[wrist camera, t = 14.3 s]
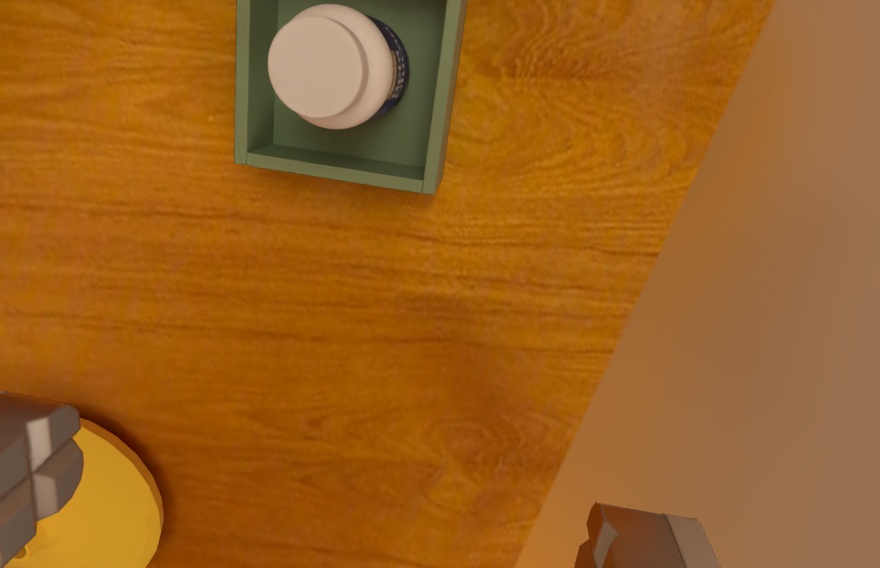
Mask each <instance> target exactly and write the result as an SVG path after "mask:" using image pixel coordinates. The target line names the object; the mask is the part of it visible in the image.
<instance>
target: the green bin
mask: <svg viewBox="0 0 880 568" xmlns="http://www.w3.org/2000/svg"><path fill="white" fill-rule="evenodd" d="M467 1H468V0H237V22H236V81H235V139H234V163H235V164H241V165H247V166H253V167H259V168H265V169H271V170H278V171H284V172H290V173H297V174H303V175H309V176H315V177H322V178H328V179H334V180H340V181H347V182H353V183H359V184H366V185H372V186H378V187H384V188H391V189H397V190H403V191H409V192H416V193H421V192H422V193H423V194H429V195H434V194H435V192H436V190H437V188H438V186H439V184H440V182H441V180H442V176H443V169H444V162H445V155H446V148H447V141H448V134H449V127H450V120H451V113H452V106H453V99H454V92H455V85H456V78H457V71H458V64H459V57H460V50H461V43H462V36H463V29H464V22H465V15H466V8H467ZM322 4H337V5H343V6H346V7H350V8H353V9H355V10H358V11H360V12H362V13H364V14H366V15H368V16H371V17H373V18H375V19H377V20H380V21H382V22H383V23H385V24H386V25H388V26H389V27H390V28H391V29H393V30H394V31H395V32H396V34H397V35H398V36H399V37H400V39H401V40H402V42H403V44H404V46H405V48H406V50H407V53H408V56H409V61H410V80H409V84H408V88H407V90H406V92H405V94H404V96H403V98H402V99H401V101H400V102H399V103H398V105H397V106H396V107H395V108H393V109H392V110H391V111H390V112H388V113H387V114H385V115H383V116H381V117H379V118H376V119H373V120H371V121H368V122H365V123H363V124H360V125H358V126H355V127H351V128H346V129H328V128H323V127H319V126H317V125H314V124H312V123H310V122H308V121H306V120H305V119H303V118H302V117H301V116H299V115H298V114H297V113H296V112H294V111H293V110H291V109H290V108H289V107H287V106H286V105H285V104H284V103H283V102H282V101H281V100H280V98H279V97H278V95H277V94H276V92H275V90H274V88H273V86H272V84H271V81H270V77H269V72H268V54H269V50H270V47H271V44H272V41H273V39H274V38H275V36H276V34H277V33H278V32H279V31H280V29H281V28H282V27H283V26H284V25H286V24H287V23H288V22H290V21H291V20H292V19H293V18H294V17H295V16H296V15H298V14H299V13H300V12H302V11H304V10H306V9H308V8H310V7H313V6H317V5H322Z"/></svg>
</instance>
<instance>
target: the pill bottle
mask: <svg viewBox="0 0 880 568" xmlns="http://www.w3.org/2000/svg"><path fill="white" fill-rule="evenodd" d="M268 72H269V77H270V81H271V84H272V86H273V88H274V90H275V92H276V94H277V95H278V97H279V98H280V100H281V101H282V102H283V103H284V104H285V105H286V106H287V107H289V108H290V109H291V110H293V111H294V112H296V113H297V114H298V115H299V116H301V117H302V118H303V119H305V120H306V121H308V122H310V123H312V124H314V125H317V126H319V127H323V128H328V129H346V128H351V127H355V126H358V125H360V124H363V123H365V122H368V121H371V120H373V119H376V118H379V117H381V116H383V115H385V114H387V113H388V112H390V111H391V110H392V109H393V108H395V107H396V106H397V105H398V103H399V102H400V101H401V99H402V98H403V96H404V94H405V92H406V90H407V88H408V84H409V80H410V61H409V56H408V53H407V50H406V48H405V46H404V44H403V42H402V40H401V39H400V37H399V36H398V35H397V34H396V32H395V31H394V30H393V29H391V28H390V27H389V26H388V25H386V24H385V23H383V22H382V21H380V20H377V19H375V18H373V17H371V16H368V15H366V14H364V13H362V12H360V11H358V10H355V9H353V8H350V7H346V6H343V5H337V4H322V5H317V6H313V7H310V8H308V9H306V10H304V11H302V12H300V13H299V14H298V15H296V16H295V17H294V18H293V19H292V20H291V21H290V22H288V23H287V24H286V25H284V26H283V27H282V28H281V29H280V31H279V32H278V33H277V34H276V36H275V38H274V39H273V41H272V44H271V47H270V50H269V54H268Z"/></svg>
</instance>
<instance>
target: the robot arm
mask: <svg viewBox="0 0 880 568" xmlns="http://www.w3.org/2000/svg"><path fill="white" fill-rule="evenodd" d="M80 429H81V424H80V416H79V410H77V409H76V408H75V407H73V406H72V405H70V404H65V403H61V402H56V401H51V400H46V399H41V398H37V397H32V396H27V395H22V394H18V393H13V392H12V393H9V392H6V391H1V390H0V568H3V567H4V566H5V565H6V564H7V563H8V562H9V561H10V560H11V559H12V558H13V557H14V556H15V555H16V554H17V553H18V552H19V551H20V550H21V549H22V548H23V547H24V546H25V545H26V544H27V543H28V542H29V541H30V540H31V539H32V538H33V537H34V536H35V535H36V533H37V522H38V521H40V520H42V519H44V518H47V517H49V516H51V515H54V514H56V513H58V512H59V511H60V510H61V509H62V508H63V507H64V506H65V505H66V504H67V503H68V502H69V501H70V500H71V498H72V497H73V495H74V493H75V491H76V489H77V487H78V485H79V483H80V481H81V478H82V473H83V468H84V458H83V451H82V450H81V449H80V447H79V446H78V445H77V443H76V442H75V441H74V439H73V437H74V436H75V435H76V434H77V433H78V432H79V430H80ZM587 528H588V533H589V540H587V541H586V542H585V543H583V544H582V545H580V547H579V550H578V554H577V558H576V562H575V568H721V567H720V565H719V563H718V560H717V558H716V556H715V554H714V552H713V549H712V547H711V545H710V543H709V540H708V538H707V536H706V534H705V532H704V530H703V527H702V525H701V523H699V522H698V521H697V520H696V519H694V518H687V517H682V516H675V515H668V514H663V513H662V514H657V513H651V512H645V511H640V510H634V509H629V508H623V507H618V506H612V505H606V504H601V503H596V502H595V504H594V505H593V507H592V509H591V511H590V514H589V517H588V520H587Z"/></svg>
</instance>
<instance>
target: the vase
mask: <svg viewBox="0 0 880 568" xmlns="http://www.w3.org/2000/svg"><path fill="white" fill-rule="evenodd" d="M80 424H81V429H80V430H79V432H78V433H77V434H76V435H75V436H74V437H73V439H74V441H75V442H76V443H77V445H78V446H79V447H80V449H81V450H82V451H83V458H84V468H83V473H82V478H81V481H80V483H79V485H78V487H77V489H76V491H75V493H74V495H73V497H72V498H71V500H70V501H69V502H68V503H67V504H66V505H65V506H64V507H63V508H62V509H61V510H60V511H59V512H58V513H56V514H54V515H51V516H49V517H47V518H44V519H42V520H40V521H38V522H37V533H36V535H35V536H34V537H33V538H32V539H31V540H30V541H29V542H28V543H27V544H26V545H25V546H24V547H23V548H22V549H21V550H20V551H19V552H18V553H17V554H16V555H15V556H14V557H13V558H12V559H11V560H10V561H9V562H8V563H7V564H6V565H5V566H4V567H6V568H145V567H146V566H147V564H148V563H149V561H150V560H151V558H152V557H153V555H154V554H155V552H156V550H157V546H158V543H159V539H160V534H161V530H162V526H163V521H164V515H163V505H162V497H161V495H160V493H159V490H158V488H157V485H156V483H155V480H154V478H153V476H152V474H151V473H150V472H149V470H148V469H147V468H146V466H145V465H144V463H143V462H142V461H141V459H140V458H139V457H138V455H137V454H136V453H135V452H133V451H132V450H131V449H130V448H129V447H128V446H127V445H126V444H125V443H123V442H122V441H121V440H120V439H119V438H118V437H117V436H115V435H113V434H112V433H110V432H108V431H107V430H105V429H103V428H102V427H100V426H98V425H96V424H95V423H93V422H91V421H88V420H85V419H82V418H80Z"/></svg>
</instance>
